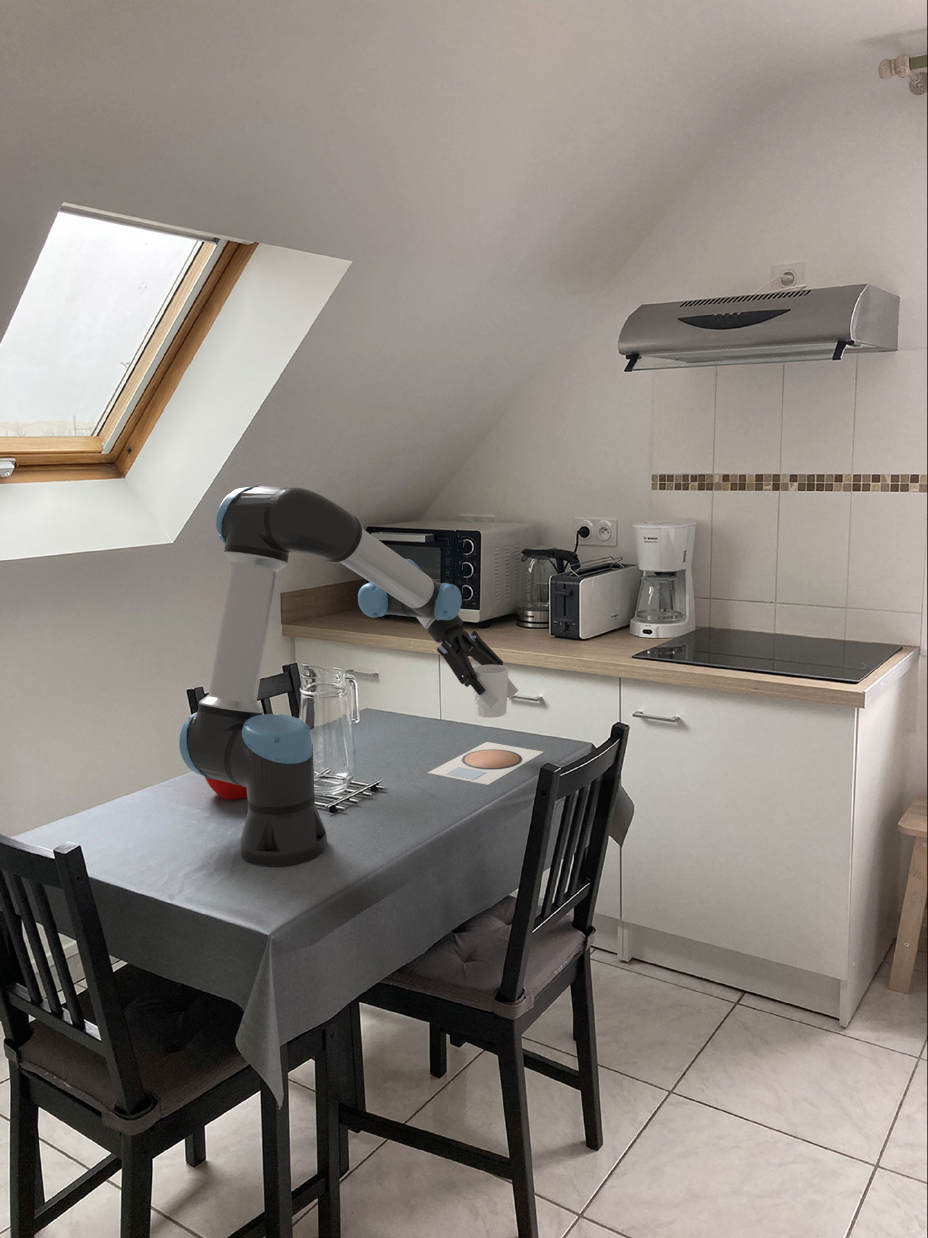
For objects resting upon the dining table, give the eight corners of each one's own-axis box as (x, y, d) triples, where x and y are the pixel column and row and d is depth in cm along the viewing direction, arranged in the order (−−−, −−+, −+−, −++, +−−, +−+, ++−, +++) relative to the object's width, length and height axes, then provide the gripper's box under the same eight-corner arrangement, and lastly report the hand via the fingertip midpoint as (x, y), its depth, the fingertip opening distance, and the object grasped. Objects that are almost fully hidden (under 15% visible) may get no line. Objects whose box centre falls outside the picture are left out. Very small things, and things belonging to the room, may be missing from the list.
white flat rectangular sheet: (487, 788, 208) (487, 784, 207) (427, 776, 216) (427, 772, 216) (543, 755, 227) (543, 751, 227) (486, 745, 235) (486, 741, 235)
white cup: (509, 718, 217) (508, 673, 215) (472, 719, 217) (471, 673, 215) (508, 708, 225) (508, 664, 223) (473, 708, 225) (472, 664, 223)
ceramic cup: (296, 788, 210) (293, 742, 208) (223, 810, 199) (219, 761, 197) (263, 773, 220) (261, 729, 218) (191, 794, 209) (188, 747, 207)
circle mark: (484, 773, 214) (483, 773, 214) (450, 757, 225) (450, 756, 225) (534, 761, 221) (534, 760, 221) (499, 746, 232) (499, 745, 232)
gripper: (454, 622, 234) (516, 698, 229) (403, 639, 217) (469, 722, 212) (473, 601, 231) (537, 678, 225) (423, 616, 213) (490, 700, 208)
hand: (504, 699), depth 219 cm, fingers closed on white cup, 8 cm apart
